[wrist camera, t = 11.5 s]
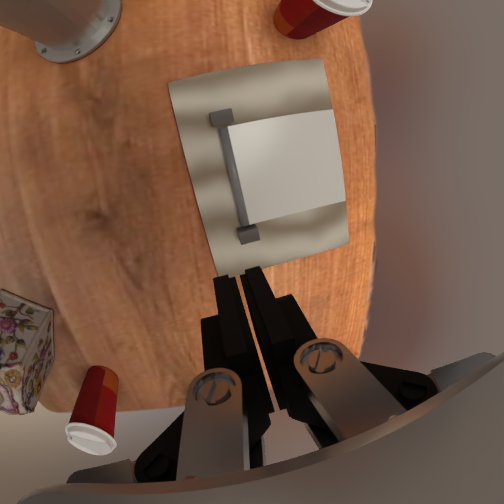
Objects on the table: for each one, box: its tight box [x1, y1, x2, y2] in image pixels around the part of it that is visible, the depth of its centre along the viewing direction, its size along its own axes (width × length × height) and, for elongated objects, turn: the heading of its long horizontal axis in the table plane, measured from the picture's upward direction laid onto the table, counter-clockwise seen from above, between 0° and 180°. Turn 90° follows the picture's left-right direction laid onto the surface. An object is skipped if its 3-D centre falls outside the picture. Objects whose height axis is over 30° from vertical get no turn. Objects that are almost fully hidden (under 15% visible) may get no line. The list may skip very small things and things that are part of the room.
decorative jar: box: [0, 289, 55, 415], centre depth 29 cm, size 12×12×18 cm
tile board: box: [168, 58, 349, 278], centre depth 34 cm, size 26×19×3 cm
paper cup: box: [274, 0, 372, 39], centre depth 22 cm, size 8×8×14 cm
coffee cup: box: [65, 366, 118, 455], centre depth 37 cm, size 8×8×15 cm
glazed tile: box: [218, 109, 346, 226], centre depth 34 cm, size 12×1×14 cm
